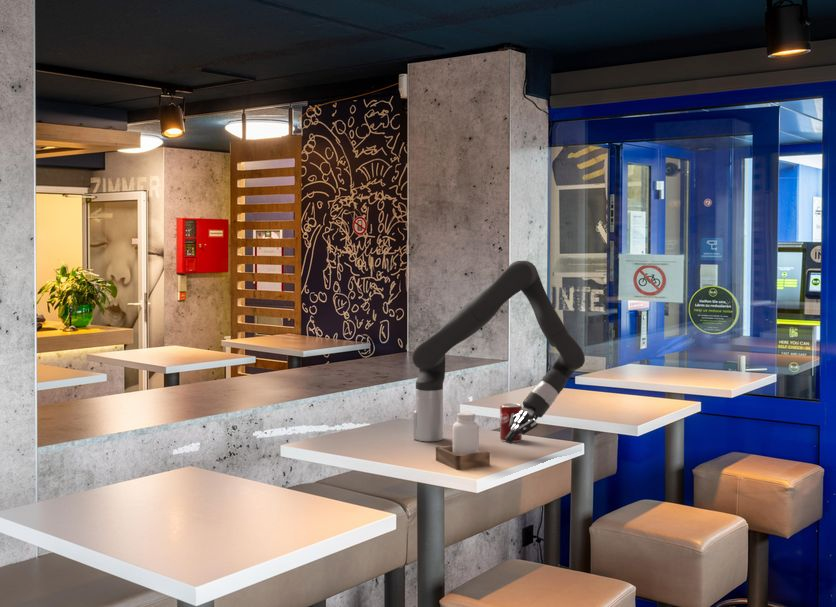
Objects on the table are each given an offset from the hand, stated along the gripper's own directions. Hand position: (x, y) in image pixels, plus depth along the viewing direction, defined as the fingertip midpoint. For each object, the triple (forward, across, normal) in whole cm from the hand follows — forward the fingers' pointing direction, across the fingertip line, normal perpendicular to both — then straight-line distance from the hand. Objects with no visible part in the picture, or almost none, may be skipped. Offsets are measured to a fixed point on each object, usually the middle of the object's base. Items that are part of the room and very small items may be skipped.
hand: (507, 441), depth 281 cm
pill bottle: (+14, 0, -7) cm, 16 cm away
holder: (+14, 0, -7) cm, 16 cm away
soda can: (-6, -21, +14) cm, 26 cm away
